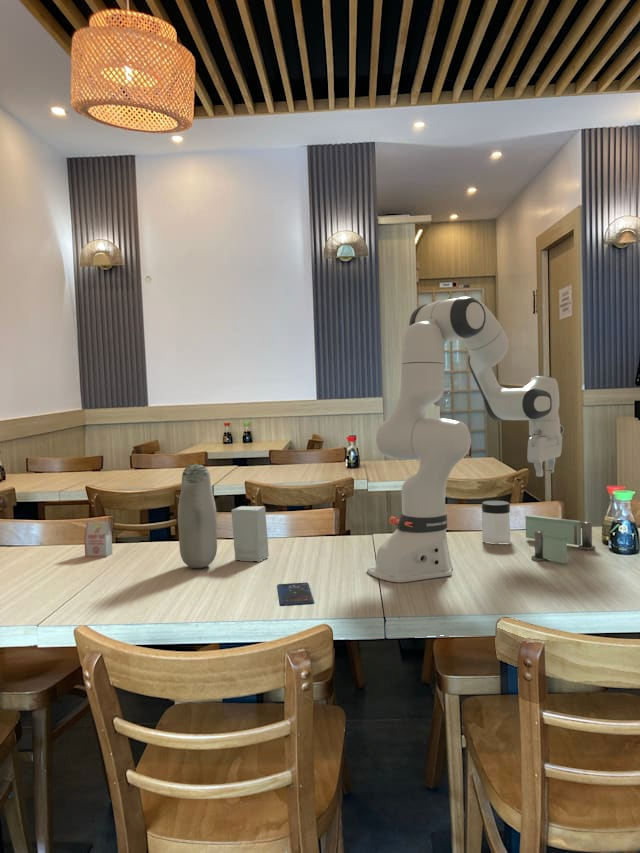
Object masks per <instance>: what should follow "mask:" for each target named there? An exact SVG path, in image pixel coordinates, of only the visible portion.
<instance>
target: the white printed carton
mask: <svg viewBox="0 0 640 853" xmlns="http://www.w3.org/2000/svg"><path fill="white" fill-rule="evenodd" d="M85 524H86V526H85V531H84V536H83V537H84V556H85V558H108V557H110V556H112V555H113V552H114V551H113V536H112V535H113V534H112V531H111V528H110V524H109V521H107V522H106V521H105V522H103V521H100V522H99V521H97V522H95V521H94V522H93V521H88V522H86V523H85Z"/></svg>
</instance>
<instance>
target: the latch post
mask: <svg viewBox="0 0 640 853" xmlns="http://www.w3.org/2000/svg"><path fill="white" fill-rule="evenodd" d="M542 533H545V532H544V531H535V539H534V554H533V555H531V557H530V558H531V559H530V560H532V561H535V562H543V561H545V562H549V559H545V558H543V537H542ZM543 563H544V562H543Z"/></svg>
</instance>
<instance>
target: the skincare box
mask: <svg viewBox="0 0 640 853" xmlns="http://www.w3.org/2000/svg"><path fill="white" fill-rule="evenodd" d="M231 520H232V535H233V536H232V537H233V547H234V548H233V549H234V551H233V552H234V561H236V560H240V562H253V561H257V562H256V563H259V562H260V561H261V560H262V561H264V560H266V559H265V558H267V557H268V556H270V554H269V541H268V528H267V513H266V506H264V505H262V506H261V505H260V506H259V505H258V506H255V505H254V506H253V505H252V506H249V505H247V506H246V505H241V506H238V507H235V508H232V509H231ZM268 558H269V557H268ZM268 558H267V559H268ZM263 559H264V560H263ZM262 561H261V562H262Z"/></svg>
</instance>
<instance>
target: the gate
mask: <svg viewBox="0 0 640 853" xmlns="http://www.w3.org/2000/svg"><path fill="white" fill-rule="evenodd" d="M524 517H525V518H524V519H525V538H526V539H533V540H535V531H544V532H545V533H546V532H547V533H552V534H557V535H561V536H566V537H567V544H568V545H575V546H579V545H582V521H581V520H574V519H566V518H559V517H558V518H557V517H549V516H540V515H531V514H527V515H525V516H524Z"/></svg>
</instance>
